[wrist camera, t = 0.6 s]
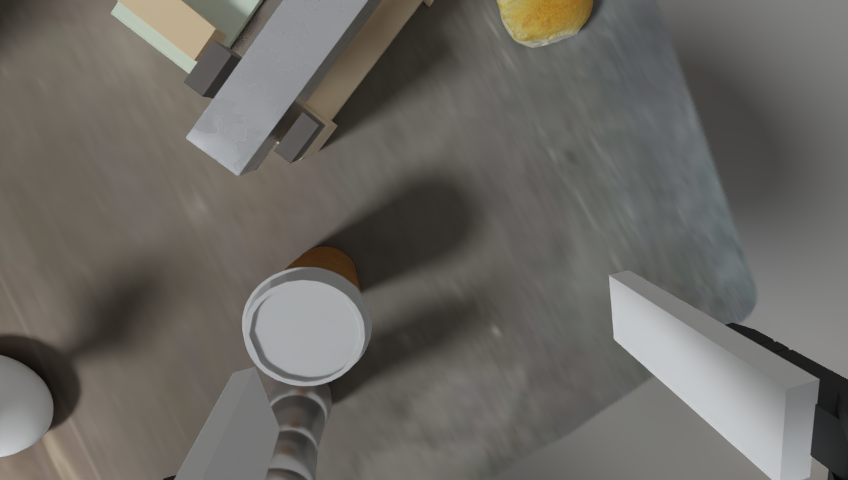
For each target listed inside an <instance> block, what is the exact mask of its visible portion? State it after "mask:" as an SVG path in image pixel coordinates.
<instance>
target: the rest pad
mask: <svg viewBox="0 0 848 480" xmlns="http://www.w3.org/2000/svg"><path fill="white" fill-rule="evenodd" d="M262 1H263V0H118V3H117V4H116V6H115V8H114V9H113V11H112V12H111V14H112V15H114V16H115V17H116V18H117V19H119V20H120V21H121V22H123V23H124V24H125V25H126V26H128V27H129V28H130V29H132V30H133V31H134V32H136V33H137V34H138V35H139V36H141V37H142V38H143V39H145V40H146V41H147V42H149V43H150V44H151V45H152V46H154V47H155V48H156V49H158V50H159V51H160V52H162V53H163V54H164V55H165V56H167V57H168V58H169V59H171V60H172V61H173V62H174V63H176V64H177V65H178V66H180V67H181V68H182V69H184V70H185V71H186V72H187V73H189V74H190V72H191V71H192V69H193V68H194V66H195V65H196V64H197V62H198V61H199V59H200V58H201V56H202V55H203V53H204V52H205V50H206V49H207V48H208V46H209V45H210V43H211V42H212V40H215V41H217V42H219V43H221V44H222V45H224V46H226V47H228V48H230V47H231V46H232V44H233V43H234V41H235V40H236V39H237V37H238V36H239V34H240V33H241V31H242V30H243V28H244V27H245V26H246V24H247V23H248V21H249V20H250V18H251V17H252V16H253V14H254V13H255V11H256V10H257V8H258V7H259V6H260V4H261V3H262Z"/></svg>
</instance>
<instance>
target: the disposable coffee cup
mask: <svg viewBox="0 0 848 480" xmlns="http://www.w3.org/2000/svg"><path fill="white" fill-rule="evenodd" d="M242 330H243V336H244V341H245V344H246V348H247V351H248V353H249V355H250V356H251V358H252V360H253V361H254V362H255V364H256V365H257V366H258V367H259V368H260V369H261V370H262V371H263V372H264V373H266V374H267V375H269V376H271V377H272V378H274V379H275V380H278V381H281V382H284V383H287V384H290V385H297V386H315V385H320V384H324V383H327V382H330V381H332V380H334V379H336V378H338V377H340V376H342V375H343V374H344V373H346V372H347V371H348V370H349V369H350V368H351V367H352V366H353V365H354V364H355V363H356V362H357V361H358V360H359V359H360V358H361V356H362V355H363V354H364V352H365V350H366V348H367V346H368V344H369V341H370V338H371V332H372V318H371V313H370V309H369V307H368V304H367V302H366V300H365V298H364V297H363V295H362V294H361V290H360V285H359V281H358V277H357V272H356V268H355V265H354V263H353V261H352V260H351V259H350V257H349V256H348V255H346V254H345V253H344V252H342V251H341V250H339V249H336V248H333V247H327V246H325V247H316V248H312V249H310V250H308V251H307V252H305V253H304V254H303V255H301V256H300V257H299V258H298V259H297V260H295V261H294V262H293V263H292V264H291V265H289V266H288V267H287V268H286V269H285V270H284V271H281V272H278V273H276V274H274V275H272V276H271V277H269V278H267V279H266V280H265V281H263V282H262V283H261V284H260V285H259V286H258V287H257V288H256V289H255V290H254V291H253V292H252V294H251V296H250V298H249V299H248V301H247V303H246V305H245V309H244V312H243V317H242Z"/></svg>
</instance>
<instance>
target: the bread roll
mask: <svg viewBox="0 0 848 480" xmlns="http://www.w3.org/2000/svg"><path fill="white" fill-rule="evenodd" d="M496 1H497V4H498V7H499V9H500V14H501V19H502V22H503V24H504V26H505V28H506V30H507V31H508V33H509V34H510V35H511V37H512V38H513V39H514V40H515V41H516V42H518V43H520V44H522V45H525V46H528V47H531V48H534V47H539V46H544V45H548V44H551V43H554V42H559V41H561V40H562V39H566V38H569V37H571V36H573V35H576V34H578V32H579V30H580V28H581V27H582V26H583V25H584V24H585V23H586V21H587V19H588V18H589V16H590V13H591V10H592V6H593V0H496Z"/></svg>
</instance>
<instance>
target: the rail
mask: <svg viewBox="0 0 848 480" xmlns="http://www.w3.org/2000/svg"><path fill="white" fill-rule="evenodd" d="M381 2H382V0H283V1H282V2H281V4H280V5H279V7H278V8H277V9H276V11H275V12H274V14H273V15H272V17H271V18H270V19H269V21H268V22H267V24H266V25H265V26H264V28H263V29H262V31H261V32H260V34H259V35H258V36H257V38H256V39H255V41H254V42H253V43H252V45H251V46H250V48H249V49H248V51H247V52H246V53H245V55H244V56H243V58H242V59H241V60H240V62H239V63H238V65H237V66H236V68H235V69H234V70H233V72H232V73H231V75H230V76H229V77H228V79H227V80H226V82H225V83H224V85H223V86H222V87H221V89H220V90H219V92H218V93H217V94H216V96H215V97H214V99H213V100H212V102H211V103H210V104H209V106H208V107H207V109H206V110H205V111H204V113H203V114H202V116H201V117H200V119H199V120H198V121H197V123H196V124H195V126H194V127H193V128H192V130H191V131H190V133H189V134H188V136H187V137H186V139H188V140H189V141H190V142H192V143H193V144H195V145H196V146H197V147H199V148H200V149H201V150H203V151H204V152H206V153H207V154H208V155H210V156H211V157H213V158H214V159H215V160H217V161H218V162H219V163H221V164H222V165H224V166H225V167H226V168H228V169H229V170H230V171H232V172H233V173H235V174H236V175H237V176H239V175H242V174H245V173H247V172H250V171H253V170H256V169H257V168H258V167H259V165H260V164H261V163H262V161H263V160H264V159H265V157H266V156H267V155H268V153H269V152H270V150H271V149H272V148H273V146H274V145H275V144H276V142H277V141H278V140H279V138H280V137H281V136H282V134H283V133H284V132H285V130H286V129H287V128H288V126H289V125H290V124H291V122H292V121H293V120H294V118H295V117H296V116H297V114H298V113H299V112H300V110H301V109H302V108H303V106H304V105H305V104H306V102H307V101H308V100H309V98H310V97H311V96H312V94H313V93H314V92H315V90H316V89H317V88H318V86H319V85H320V83H321V82H322V81H323V79H324V78H325V77H326V75H327V74H328V73H329V71H330V70H331V69H332V67H333V66H334V65H335V63H336V62H337V61H338V59H339V58H340V57H341V55H342V54H343V53H344V51H345V50H346V49H347V47H348V46H349V45H350V43H351V42H352V41H353V39H354V38H355V37H356V35H357V34H358V33H359V31H360V30H361V29H362V27H363V26H364V25H365V23H366V22H367V21H368V19H369V18H370V16H371V15H372V14H373V12H374V11H375V10H376V8H377V7H378V6H379V4H380V3H381Z"/></svg>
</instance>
